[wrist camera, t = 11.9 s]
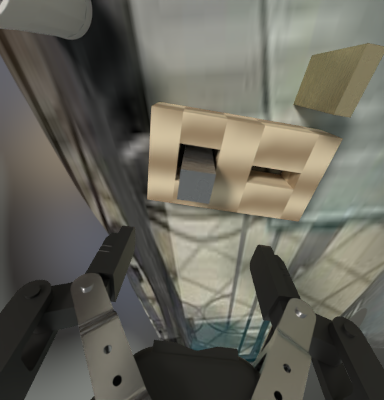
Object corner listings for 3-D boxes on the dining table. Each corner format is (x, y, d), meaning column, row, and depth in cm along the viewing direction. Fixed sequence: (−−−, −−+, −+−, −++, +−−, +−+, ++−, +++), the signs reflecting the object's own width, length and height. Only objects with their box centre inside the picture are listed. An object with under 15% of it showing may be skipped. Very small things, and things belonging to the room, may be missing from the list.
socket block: (159, 101, 26) (151, 106, 22) (320, 129, 27) (342, 138, 23) (154, 183, 32) (147, 199, 28) (285, 203, 34) (298, 221, 29)
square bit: (186, 142, 29) (180, 169, 20) (211, 146, 29) (216, 174, 20) (183, 165, 31) (176, 199, 22) (206, 169, 31) (209, 204, 22)
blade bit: (311, 55, 23) (368, 43, 16) (325, 57, 23) (387, 47, 16) (293, 104, 26) (333, 114, 18) (305, 106, 26) (350, 117, 18)
